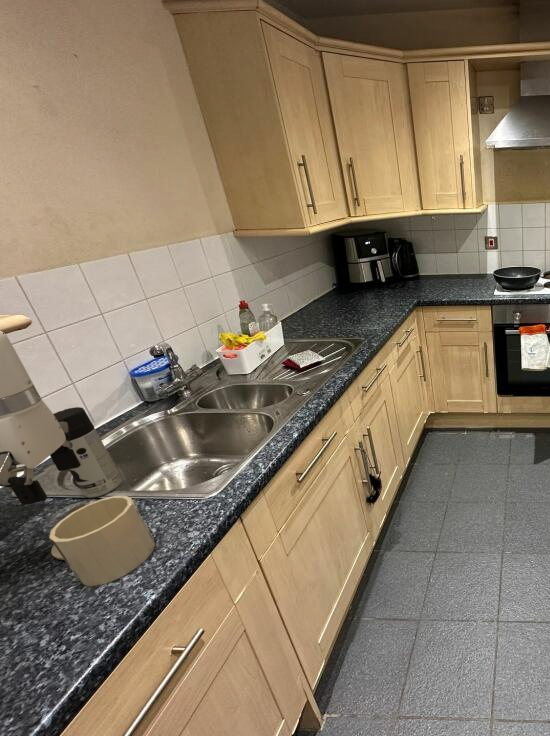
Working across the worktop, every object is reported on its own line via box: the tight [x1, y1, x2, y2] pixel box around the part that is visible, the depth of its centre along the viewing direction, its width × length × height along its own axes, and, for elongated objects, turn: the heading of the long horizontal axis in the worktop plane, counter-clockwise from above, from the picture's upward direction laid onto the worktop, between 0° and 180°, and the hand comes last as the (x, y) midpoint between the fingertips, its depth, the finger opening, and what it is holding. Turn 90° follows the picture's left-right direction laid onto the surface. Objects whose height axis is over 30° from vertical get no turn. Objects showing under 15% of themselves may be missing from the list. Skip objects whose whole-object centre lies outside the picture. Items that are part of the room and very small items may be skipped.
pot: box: [49, 495, 156, 587], centre depth 72 cm, size 10×10×10 cm
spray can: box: [53, 406, 123, 499], centre depth 90 cm, size 7×7×20 cm
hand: (53, 484), depth 74 cm, fingers open, 9 cm apart
